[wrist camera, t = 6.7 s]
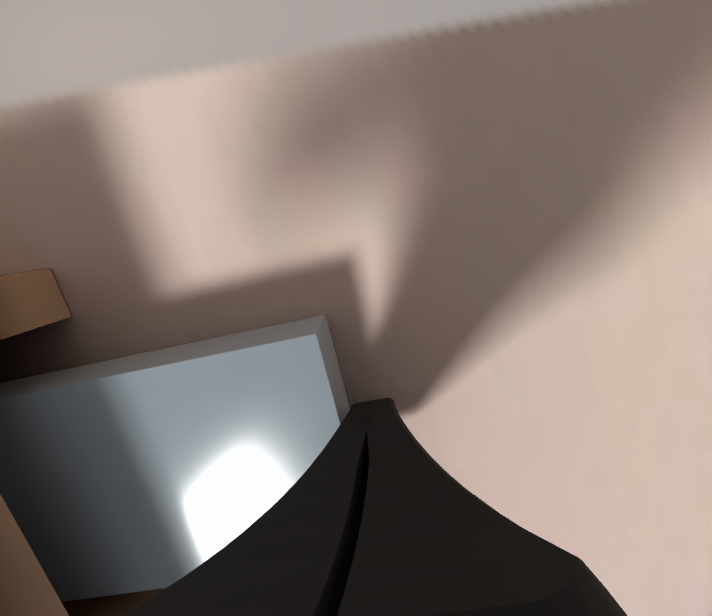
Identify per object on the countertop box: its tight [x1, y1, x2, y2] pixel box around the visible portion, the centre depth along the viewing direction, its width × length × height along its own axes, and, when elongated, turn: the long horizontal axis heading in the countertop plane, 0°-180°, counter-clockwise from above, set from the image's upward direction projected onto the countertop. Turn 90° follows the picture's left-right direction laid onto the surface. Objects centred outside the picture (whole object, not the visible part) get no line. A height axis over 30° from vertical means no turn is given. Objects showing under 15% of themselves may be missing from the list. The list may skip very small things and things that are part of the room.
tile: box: [0, 314, 350, 602], centre depth 11 cm, size 13×7×2 cm, turn 103°
